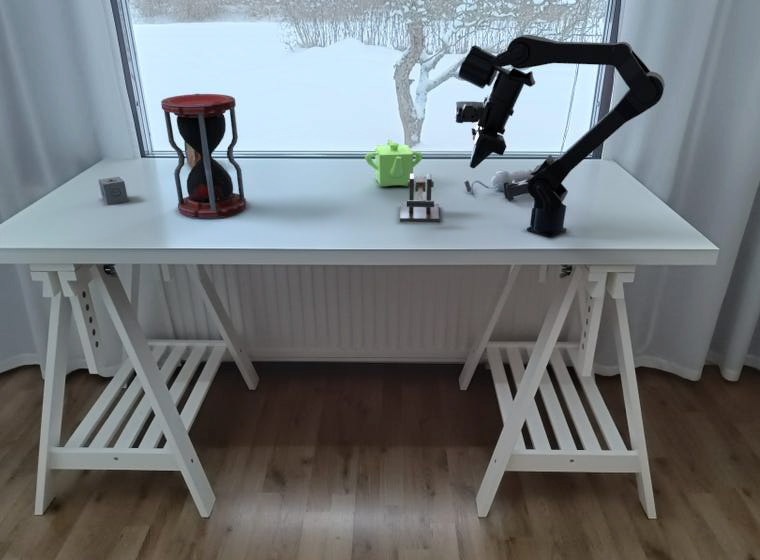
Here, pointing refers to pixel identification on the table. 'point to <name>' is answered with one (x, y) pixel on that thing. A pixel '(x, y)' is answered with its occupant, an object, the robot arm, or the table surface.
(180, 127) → the hourglass
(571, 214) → the table surface
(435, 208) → the stand
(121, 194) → the dice cube
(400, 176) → the teapot
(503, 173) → the clip-on lamp
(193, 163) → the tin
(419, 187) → the tap lever
